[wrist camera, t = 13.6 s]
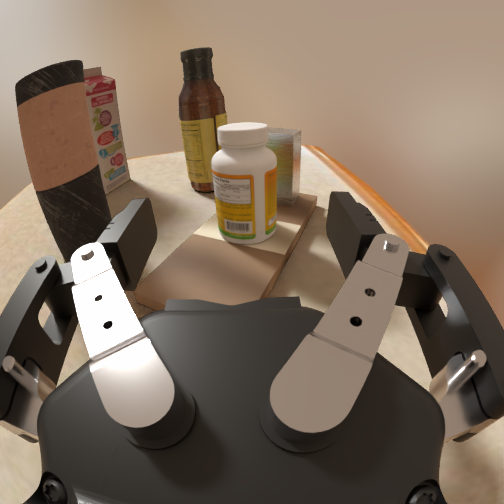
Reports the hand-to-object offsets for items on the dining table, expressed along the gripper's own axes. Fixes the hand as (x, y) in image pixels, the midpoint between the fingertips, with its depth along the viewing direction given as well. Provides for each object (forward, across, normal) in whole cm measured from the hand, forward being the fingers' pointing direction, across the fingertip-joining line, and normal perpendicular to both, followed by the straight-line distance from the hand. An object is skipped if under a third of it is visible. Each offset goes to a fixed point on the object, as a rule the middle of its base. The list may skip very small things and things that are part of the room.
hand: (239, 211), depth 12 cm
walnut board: (+11, 0, +9) cm, 14 cm away
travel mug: (+12, +18, +10) cm, 24 cm away
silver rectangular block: (+18, -3, +8) cm, 20 cm away
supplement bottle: (+11, 0, +8) cm, 14 cm away
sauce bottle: (+26, +5, +10) cm, 28 cm away
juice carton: (+31, +25, +10) cm, 41 cm away
